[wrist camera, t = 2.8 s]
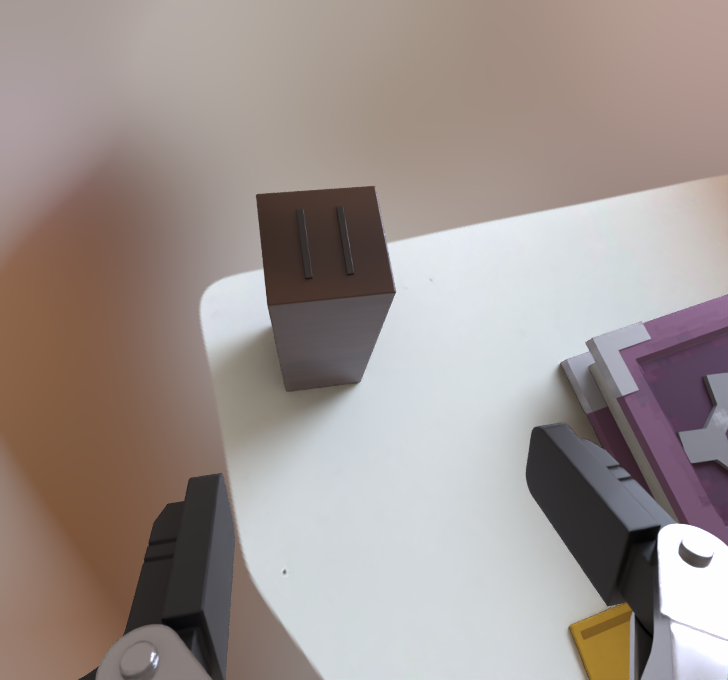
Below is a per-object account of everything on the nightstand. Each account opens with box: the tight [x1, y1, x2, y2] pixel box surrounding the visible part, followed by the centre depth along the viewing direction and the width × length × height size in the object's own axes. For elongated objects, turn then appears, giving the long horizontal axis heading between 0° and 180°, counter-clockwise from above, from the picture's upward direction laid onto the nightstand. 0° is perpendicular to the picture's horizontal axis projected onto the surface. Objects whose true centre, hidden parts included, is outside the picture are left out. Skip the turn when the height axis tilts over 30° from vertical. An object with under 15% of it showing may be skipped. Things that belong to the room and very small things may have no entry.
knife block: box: [256, 186, 396, 392], centre depth 29 cm, size 6×6×16 cm
